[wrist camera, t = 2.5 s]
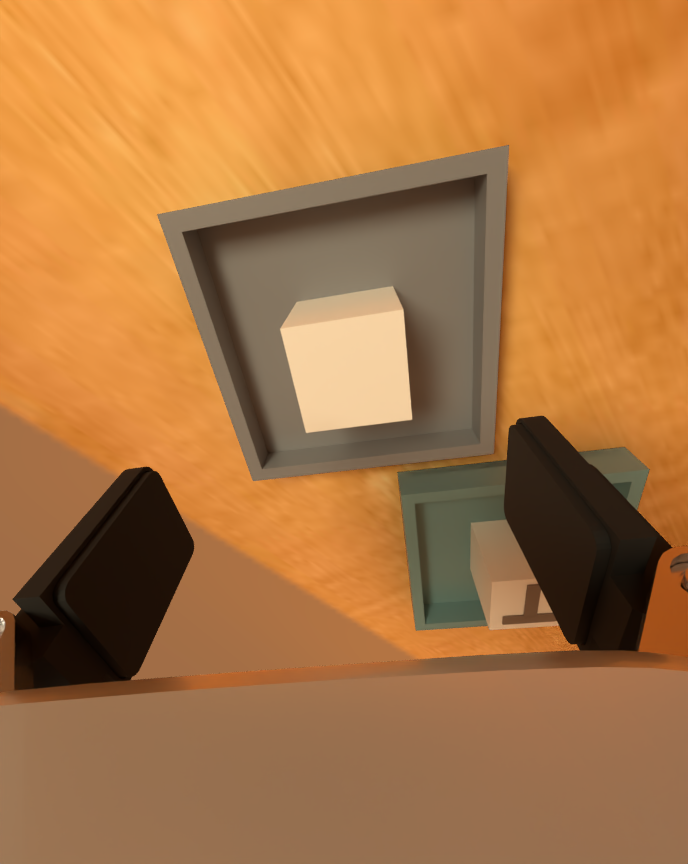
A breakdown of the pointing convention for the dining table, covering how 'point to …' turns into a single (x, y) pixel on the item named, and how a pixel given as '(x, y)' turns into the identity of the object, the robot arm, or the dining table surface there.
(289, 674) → the robot arm
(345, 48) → the dining table surface
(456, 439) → the charcoal tray
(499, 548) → the letter cube
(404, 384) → the blank cube
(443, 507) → the teal tray
